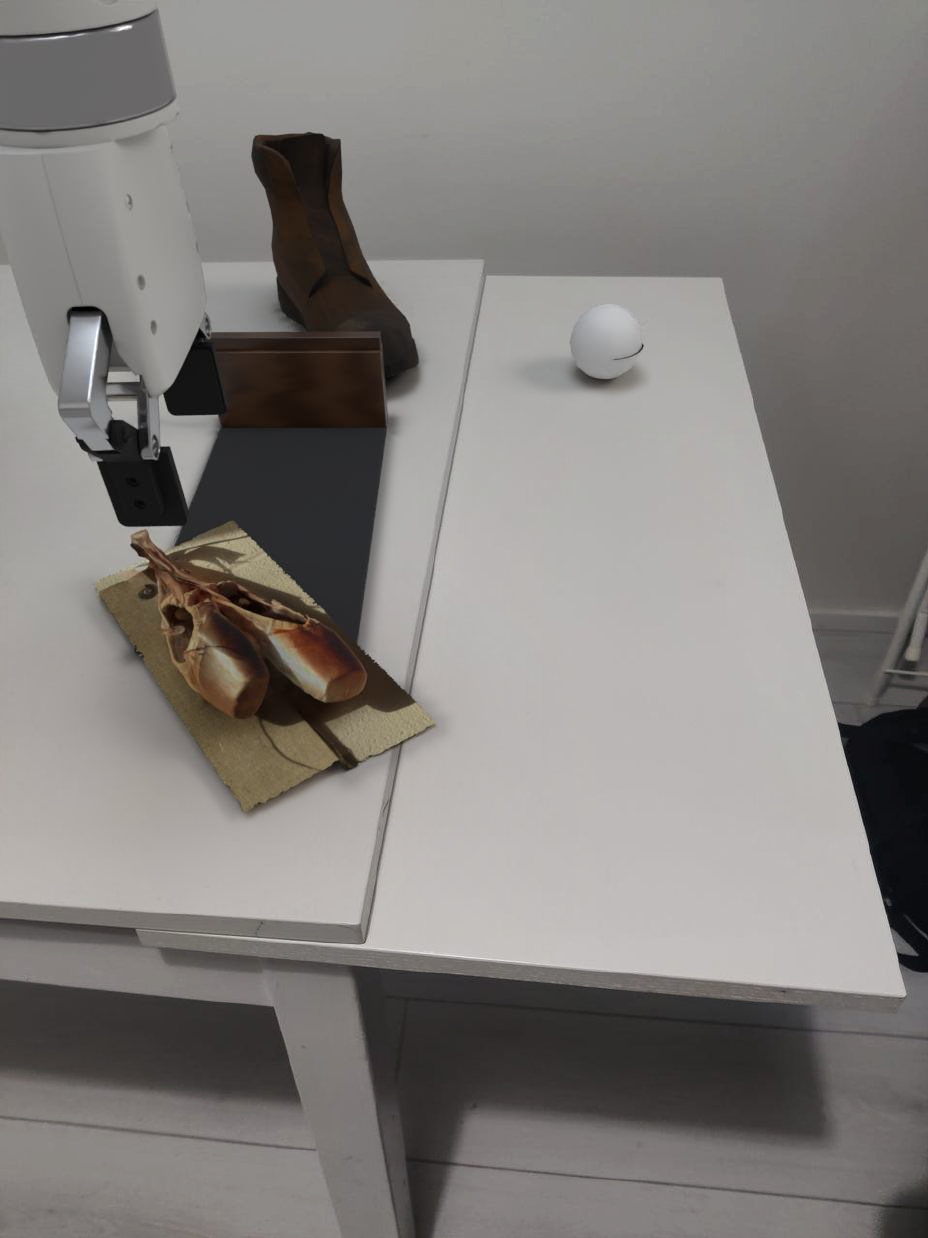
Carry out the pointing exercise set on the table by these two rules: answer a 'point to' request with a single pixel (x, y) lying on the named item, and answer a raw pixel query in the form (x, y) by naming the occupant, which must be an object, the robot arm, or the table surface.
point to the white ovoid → (606, 341)
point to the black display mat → (299, 505)
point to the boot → (324, 247)
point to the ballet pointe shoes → (255, 663)
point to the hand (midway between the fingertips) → (179, 463)
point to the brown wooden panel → (302, 379)
